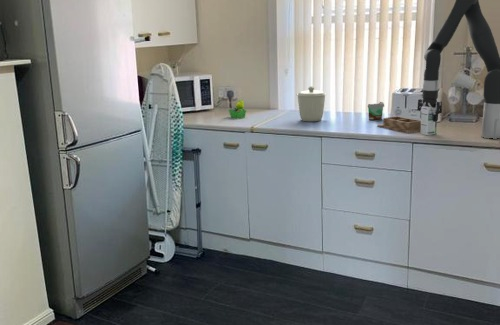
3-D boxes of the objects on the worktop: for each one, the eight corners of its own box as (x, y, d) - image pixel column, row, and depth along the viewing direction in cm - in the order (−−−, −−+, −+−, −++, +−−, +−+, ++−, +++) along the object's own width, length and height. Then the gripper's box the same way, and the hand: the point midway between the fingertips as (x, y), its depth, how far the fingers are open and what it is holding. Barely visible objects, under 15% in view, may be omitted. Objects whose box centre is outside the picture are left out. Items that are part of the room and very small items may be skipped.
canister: (305, 124, 304) (305, 88, 298) (291, 119, 320) (291, 86, 315) (331, 121, 310) (331, 86, 305) (317, 117, 326) (316, 84, 321)
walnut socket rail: (427, 130, 274) (428, 121, 273) (408, 133, 268) (408, 124, 266) (396, 123, 295) (396, 115, 293) (377, 126, 288) (377, 117, 287)
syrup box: (426, 135, 261) (428, 107, 258) (419, 133, 267) (421, 105, 263) (436, 134, 263) (437, 106, 259) (429, 132, 268) (430, 105, 265)
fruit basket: (228, 117, 338) (227, 100, 335) (238, 115, 343) (238, 99, 340) (237, 119, 329) (237, 102, 326) (248, 117, 334) (248, 100, 331)
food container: (375, 121, 304) (376, 105, 301) (367, 120, 308) (367, 104, 306) (388, 118, 311) (388, 102, 309) (379, 117, 316) (380, 101, 313)
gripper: (446, 89, 254) (444, 121, 259) (425, 87, 267) (423, 117, 271) (436, 90, 251) (434, 123, 255) (414, 88, 263) (413, 119, 268)
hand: (428, 120), depth 263 cm, fingers open, 8 cm apart
